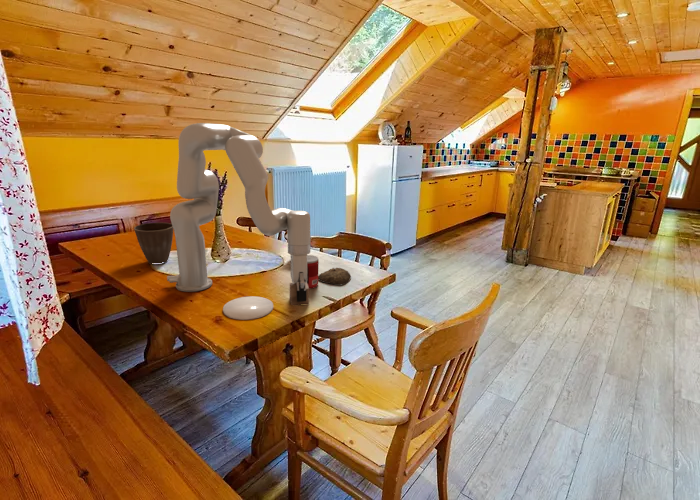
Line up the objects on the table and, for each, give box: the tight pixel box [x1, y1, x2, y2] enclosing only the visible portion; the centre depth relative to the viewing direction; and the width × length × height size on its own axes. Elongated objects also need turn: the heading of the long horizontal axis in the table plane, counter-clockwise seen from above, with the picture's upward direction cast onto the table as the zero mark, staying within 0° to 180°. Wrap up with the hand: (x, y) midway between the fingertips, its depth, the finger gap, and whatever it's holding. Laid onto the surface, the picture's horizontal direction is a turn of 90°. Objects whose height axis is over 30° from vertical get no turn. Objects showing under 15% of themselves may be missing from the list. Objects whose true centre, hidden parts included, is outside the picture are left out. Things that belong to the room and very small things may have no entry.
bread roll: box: [318, 267, 352, 286], centre depth 154 cm, size 13×12×5 cm
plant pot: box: [133, 222, 174, 265], centre depth 164 cm, size 15×15×16 cm
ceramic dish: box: [222, 295, 274, 321], centre depth 126 cm, size 16×16×1 cm
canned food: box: [307, 254, 320, 290], centre depth 145 cm, size 8×8×11 cm
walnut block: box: [289, 282, 310, 306], centre depth 132 cm, size 6×6×6 cm
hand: (300, 295), depth 132 cm, fingers open, 9 cm apart
